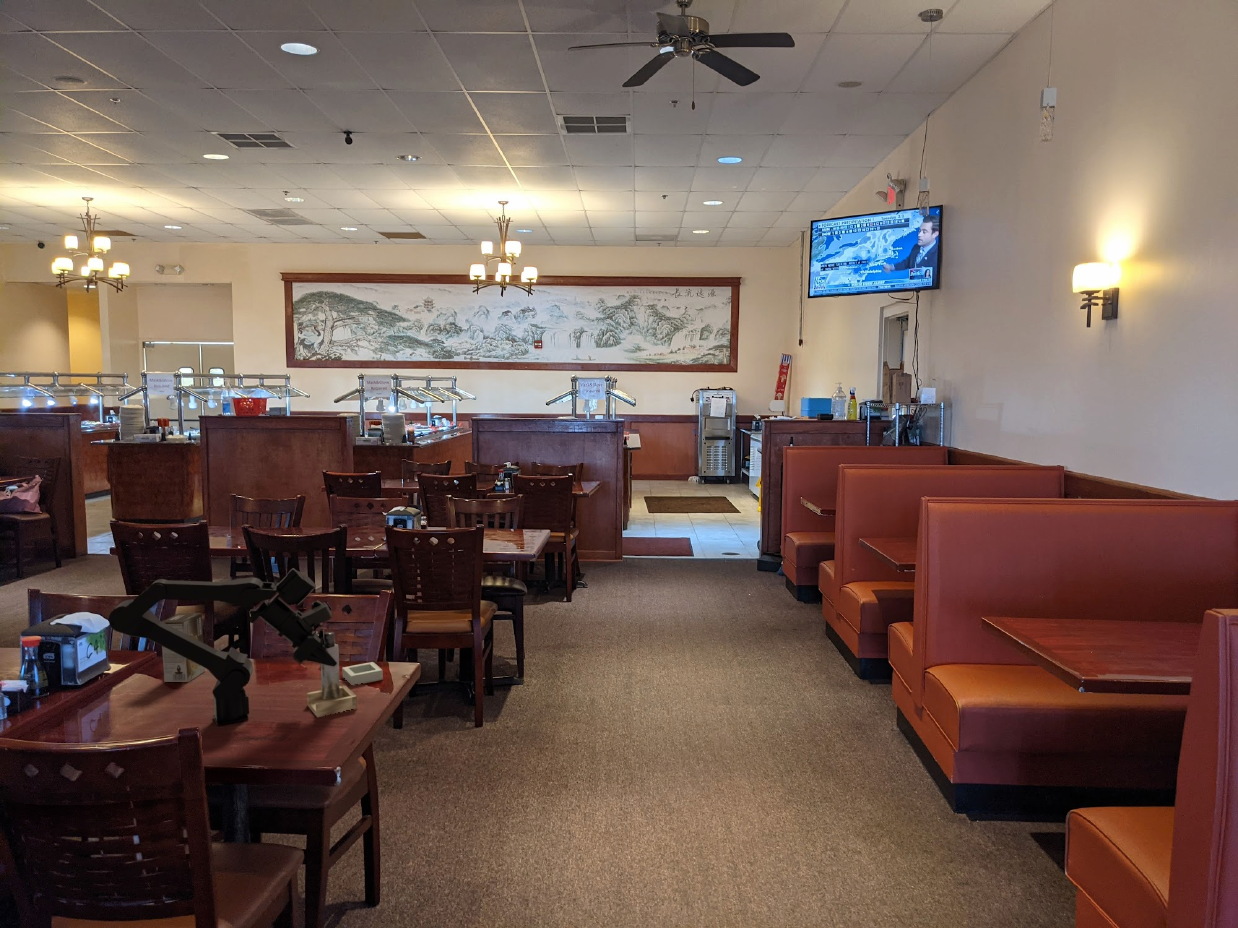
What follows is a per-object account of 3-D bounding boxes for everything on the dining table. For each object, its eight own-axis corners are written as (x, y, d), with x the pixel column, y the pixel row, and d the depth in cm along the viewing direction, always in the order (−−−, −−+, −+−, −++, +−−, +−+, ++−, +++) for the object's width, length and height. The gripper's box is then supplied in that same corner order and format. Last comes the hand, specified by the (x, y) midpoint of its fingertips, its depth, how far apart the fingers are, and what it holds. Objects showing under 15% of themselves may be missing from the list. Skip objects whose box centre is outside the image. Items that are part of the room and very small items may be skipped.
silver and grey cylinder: (319, 699, 197) (317, 635, 196) (325, 692, 201) (323, 631, 200) (336, 699, 197) (334, 635, 196) (342, 692, 201) (340, 631, 200)
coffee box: (182, 671, 227) (179, 612, 225) (206, 671, 226) (202, 612, 225) (163, 683, 217) (159, 621, 216) (188, 683, 217) (184, 621, 216)
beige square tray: (317, 717, 193) (316, 704, 193) (307, 705, 201) (307, 692, 201) (356, 708, 198) (356, 696, 198) (346, 697, 206) (345, 685, 206)
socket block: (351, 685, 214) (351, 675, 214) (342, 676, 221) (342, 667, 220) (382, 679, 218) (382, 669, 218) (373, 670, 225) (372, 661, 225)
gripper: (307, 603, 187) (361, 647, 191) (311, 584, 205) (360, 625, 209) (270, 641, 185) (325, 685, 190) (277, 619, 203) (327, 660, 207)
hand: (335, 662), depth 199 cm, fingers closed on silver and grey cylinder, 4 cm apart
